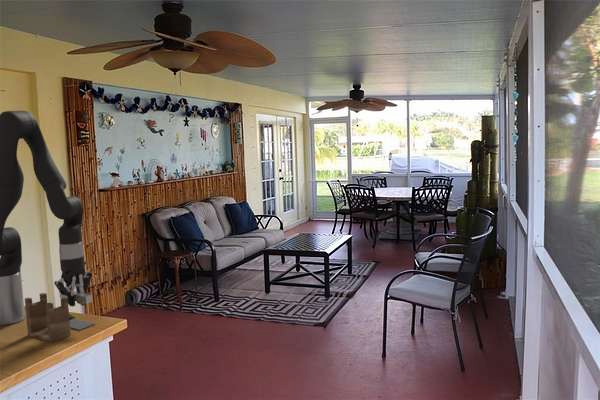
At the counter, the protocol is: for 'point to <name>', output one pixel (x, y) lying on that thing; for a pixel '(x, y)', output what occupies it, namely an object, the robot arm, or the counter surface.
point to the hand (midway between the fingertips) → (76, 304)
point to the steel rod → (80, 297)
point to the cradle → (47, 319)
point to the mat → (80, 324)
